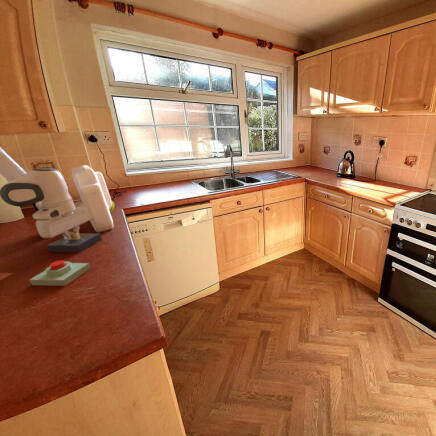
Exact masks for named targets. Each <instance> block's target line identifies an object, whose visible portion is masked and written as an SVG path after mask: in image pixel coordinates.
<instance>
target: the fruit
mask: <svg viewBox="0 0 436 436" xmlns="http://www.w3.org/2000/svg"><path fill="white" fill-rule="evenodd" d="M111 202H112V206H111V208H109V211H110V214H113V212H114V210H115V202H114V201H113V200H111Z"/></svg>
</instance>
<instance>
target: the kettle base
mask: <svg viewBox="0 0 436 436" xmlns="http://www.w3.org/2000/svg"><path fill="white" fill-rule="evenodd" d="M64 263H65V265H66V266H64V267H63V268H60V269H57V270H52V269H51V267H50V266H48V267H46V268H45V270H43V271H42V272H40V273H39V274H36V275H35V276H33V277H32V278H30V279H29V282H30V284H31V286H57V287H59V286H61V287H66V286H68V285H69V284H70V283H72V282H74V281H75V280H76V279H78V278H79V277H80V276H82V275H84V274H85V273H86V272H88V271H89V270H91V269H92V267H91V265H90V263H89V262H71V261H68V260H67V261H65V260H64Z"/></svg>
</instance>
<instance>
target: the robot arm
mask: <svg viewBox="0 0 436 436" xmlns="http://www.w3.org/2000/svg"><path fill="white" fill-rule="evenodd" d="M0 175H1V176H2V177H3V178H4V179H5V180H6V181H7V183H5V184H3V186H1V188H0V199H1V200H2V201H3V202H4V203H6V204H7V205H9V206H12V207H21V208H22V207H27V206H31V205H34V204H36V203H37V202H43V205H44V206H43V207H42V208H41V209H39V210H36V211H35V212H34V213H33V214H32V218H33V219H34V220H36V221H35V228H36V230H37V231H38V232H37V233H38V235H39V236H40V238H43V239H53V238H54V237H57V236H59V235H62V236H63V237H66V238H67V240H72V239H74V237H73V235H69V234H68V233H69V232H70V230H72V229H73V231H72V232H79V235H80V234H81V233H80V225H82V224H85V223H87V222H90V220H91V218H92V216H91V214H90V212H89V210H88V208H87V207H86V205H85V203H84V202H82V201H81V200H78V201H75V202H74V199H73V197H72V196H71V194H70V193H69V187H68V185H67V183H66V180H65V178H64V175H62V173H61V172H60V171H59V170H57V169H55V168H51V167H35V168H31V170H30V171H27V170H25V168H23V167H22V166H21V165H20V164H19V163H18V162H17V161H16V160H15V159H14V158H13V157H12V156H10V155H9V154H8V153H7V152H6V151H5V150H4V149H3V148H2V147H1V146H0Z"/></svg>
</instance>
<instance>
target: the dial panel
mask: <svg viewBox="0 0 436 436" xmlns="http://www.w3.org/2000/svg"><path fill="white" fill-rule="evenodd" d="M79 234H80V237H81V239H79V240H67V238H66V237H65V236H63V237H61V238H59V239H57V240H54V241H53V242H51V243H48V244H47V245H46V246H47V249H48V251H49V252H51V253H52V252H53V253H55V252H56V253H57V252H59V253H61V252H67V253H68V252H69V253H70V252H71V253H79V252H81V253H82V252H83V251H84V250H87V249H88V248H90V247H91V246H94V245H95V244H97V243H98V242H100V241H102V239H103V238H102V236H101V234H100V233H79Z"/></svg>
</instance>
